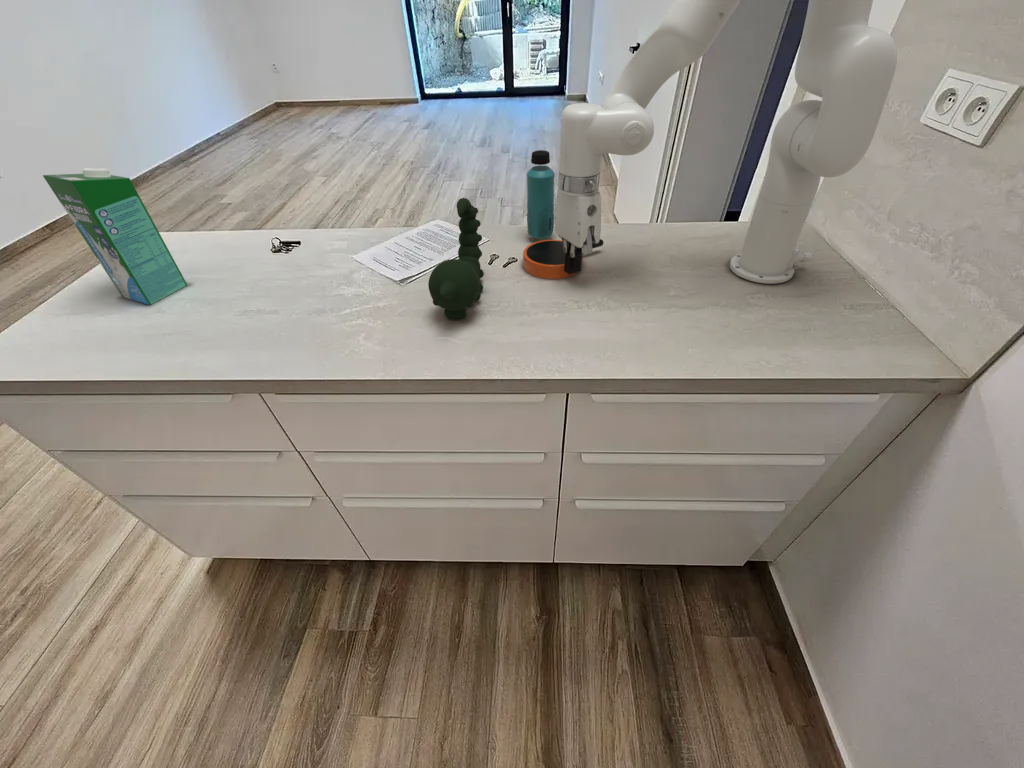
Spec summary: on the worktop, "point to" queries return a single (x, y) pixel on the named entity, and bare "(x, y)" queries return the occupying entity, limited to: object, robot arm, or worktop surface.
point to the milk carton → (119, 233)
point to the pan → (547, 259)
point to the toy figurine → (460, 268)
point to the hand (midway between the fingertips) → (572, 271)
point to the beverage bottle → (540, 196)
